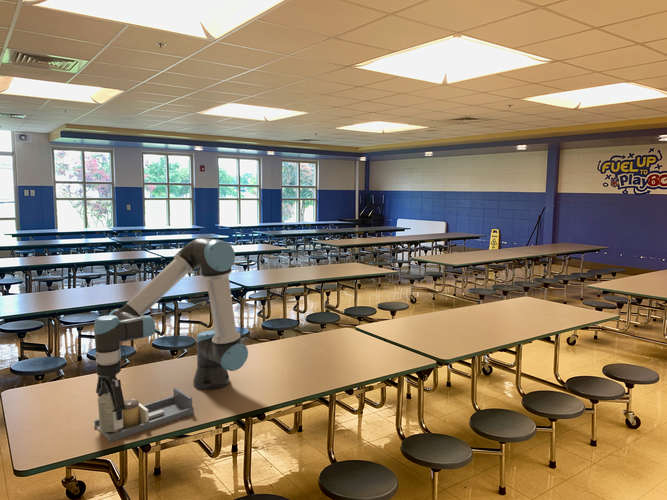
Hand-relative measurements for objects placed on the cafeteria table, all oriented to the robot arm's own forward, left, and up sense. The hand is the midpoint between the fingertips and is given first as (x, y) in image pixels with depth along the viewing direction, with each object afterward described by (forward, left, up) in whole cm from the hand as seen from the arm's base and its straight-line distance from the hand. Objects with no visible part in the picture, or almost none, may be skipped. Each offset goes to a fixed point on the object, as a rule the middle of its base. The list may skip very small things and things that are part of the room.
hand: (111, 421), depth 162 cm
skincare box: (0, 0, -3) cm, 3 cm away
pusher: (0, +14, -3) cm, 14 cm away
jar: (0, +6, -3) cm, 7 cm away
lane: (0, +12, -4) cm, 12 cm away
